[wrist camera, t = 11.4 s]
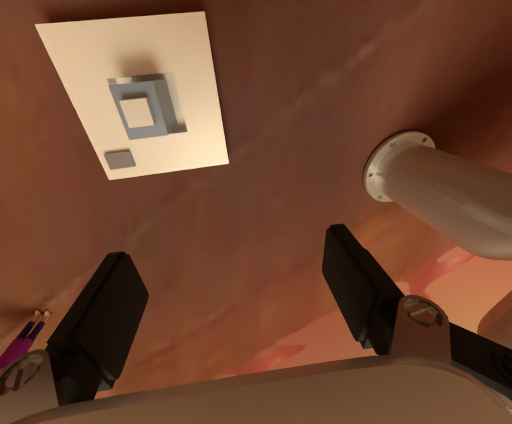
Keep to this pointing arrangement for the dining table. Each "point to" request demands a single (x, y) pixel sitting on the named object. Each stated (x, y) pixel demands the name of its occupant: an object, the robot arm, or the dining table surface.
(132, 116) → the plug
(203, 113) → the socket plate
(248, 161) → the dining table surface
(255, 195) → the dining table surface
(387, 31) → the dining table surface
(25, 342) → the toy
